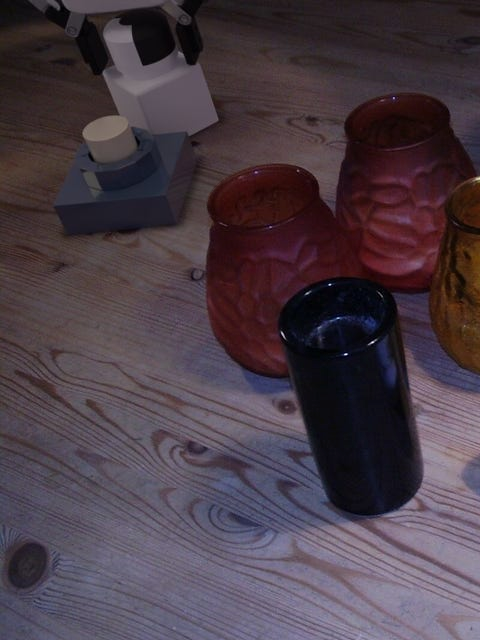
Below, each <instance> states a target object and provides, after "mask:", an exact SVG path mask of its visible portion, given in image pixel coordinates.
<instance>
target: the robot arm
mask: <svg viewBox="0 0 480 640" xmlns="http://www.w3.org/2000/svg"><path fill="white" fill-rule="evenodd" d="M28 1H29V3H31V4H32V6H34V7H35V8H36V9H38V10H39V11H40V12H42V13H43V14H44V16H45V18H46V19H47V20H48V21H50V22H52V23H53V24H54V25H56V26H58V27H60V28H61V29H63V30H65V33H66V35H67V36H69V37H70V38H74V40H75V42H76V45H77V48H78V50H79V53H80V55H81V57H82V59H83V61H84V63H85V64H87V65H89V67H90V70H91V72H92V75H93V76H101V75H102V74H103V71H104V70H105V69H106V66H107V64H108V62H109V60H110V59H109V55H108V52H107V50H106V48H105V45H104V43H103V40H102V37H101V35H100V32H99V30H98V28H97V26H96V24H95V23H94V22H93V21H92V20H91V21H90V20H89V19H88V17H89V15H93V14H104V13H111V12H112V13H114V12H123V11H131V10H137V9H150V8H155V7H160V8H161V9H162V10H163V11H164V12H165V13H167V14H168V15H169V16H170V17H171V18H173V19H174V20H175V21H176V25H175V27H174V29H175V33H176V36H177V39H178V43H179V45H180V48H181V50H182V54H184V57H185V60H186V63H187V64H189V65H190V66H191V65H196V62H198V59H199V57H200V54H201V52H203V50H204V41H203V38H202V35H201V32H200V29H199V26H198V23H197V19H196V17H195V15H196V14H197V12H198V10H200V8H201V6H202V5H203V3H204V0H61V2H62V3H61V2H60V1H59V0H58V1H57V0H28Z"/></svg>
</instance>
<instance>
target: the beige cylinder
mask: <svg viewBox="0 0 480 640" xmlns="http://www.w3.org/2000/svg"><path fill="white" fill-rule="evenodd" d="M82 137H83V139H84V142H86V144H87V146H88V148H89V150H90V153H91V155H92V157H93V159H94V161H95V162H96V163H100V164H105V163H115V162H118V161H120V160H123V159H126V158H128V157H129V156H130V155H132V154H133V153H134V152H136V151H137V150H138V144H137V142H136V139H135V137H134V134H133V132H132V129H131V127H130V125H129V122H128V120H127V119H126V118H125V117H122V116H120V115H115V114H113V115H107V116H102V117H100V118H97V119H95V120H92V121H91V122H90V123H88V124H87V125H86V126H85V127H84V128H83V130H82Z"/></svg>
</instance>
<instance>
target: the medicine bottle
mask: <svg viewBox="0 0 480 640" xmlns="http://www.w3.org/2000/svg"><path fill="white" fill-rule="evenodd" d="M172 31H173V30H172V28H171V25H170V23H169V20H168V17H167V16H166V15H165V14H164V13H162V12H161V11H159V10H157V9H150V8H141V9H132V10H127V11H125V12H122V13H121V14H118V15H117V16H115V17H113V18H112V19H110V20H109V21H108V22H107V23H106V24H105V26H104V28H103V31H102V36H103V39H104V41H105V44H106V47H107V49H108V51H109V55H110V56H111V59H112V61H113V64H114V65H112V66H109V67H107V68H105V69H104V71H103V73H102V76H103V78H104V81H105V84H106V85H107V88H108V90H109V93H110V95H111V97H112V100H113V102H114V105H115V107H116V110H117V112H118V114H119V116H122V117H125V118H126V119H127V120H128V122H129V125H130V127H137V128H141V129H145V130H148V131H149V132H150V134H151V135H155V134H165V133H174V132H184V131H187V133H188V136H189V137H190V136H193V135H195V134H196V133H199V132H201V131H202V130H204V129H206V128H207V127H210V126H212V125H214V124H216V123H218V122H219V120H220V119H219V117H218V114H217V111H216V108H215V105H214V101H213V99H212V96H211V93H210V90H209V87H208V83H207V81H206V77H205V76H204V72H203V69H202V67H201V65H200V63H199V62H198V61H197V62H196V65H191V66H190V65H189V64H187V63H186V60H185V57H184V54H183V52H181V51H179V49H178V45H177V43H176V41H175V37H174V34H173V32H172Z"/></svg>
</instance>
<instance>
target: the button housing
mask: <svg viewBox="0 0 480 640" xmlns="http://www.w3.org/2000/svg"><path fill="white" fill-rule="evenodd" d="M131 129H132V132H133V134H134V137H135V139H136V142H137V144H138V150H137V151H136V152H134V153H133V154H132V155H130V156H129V157H128V158H126V159H123V160H120V161H118V162H115V163H105V164H100V163H96V162H95V161H94V159H93V157H92V155H91V153H90V150H89V148H88V146H87V144H86V142H85V141H82V143H81V145H79V147H78V149H77V150H76V153H75V155H74V157H73V163H72V165H71V167H70V169H69V171H68V173H67V175H66V177H65V178H64V181H63V184H62V186H61V188H60V190H59V192H58V194H57V196H56V199H55V201H54V202H53V205H52V207H53V209H54V211H55V212H56V215H57V217H58V219H59V221H60V223H61V224H62V227H63V228H64V230H65V232H66V234H67V236H73V235H84V234H85V235H86V234H95V233H105V232H115V231H125V230H136V229H144V228H145V229H147V228H156V227H166V226H176V225H178V223H179V219H180V217H181V214H182V211H183V207H184V205H185V201H186V198H187V194H188V192H189V188H190V186H191V182H192V179H193V176H194V172H195V169H196V166H197V163H198V157H197V155H196V152H195V149H194V146H193V145H192V141H191V139H190V136H188V133H187V131H184V132H174V133H165V134H155V135H151V134H150V132H149V131H148V130H145V129H141V128H137V127H131Z"/></svg>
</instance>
